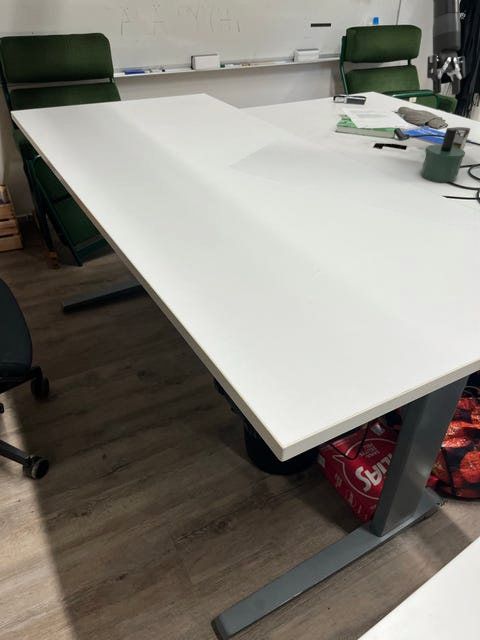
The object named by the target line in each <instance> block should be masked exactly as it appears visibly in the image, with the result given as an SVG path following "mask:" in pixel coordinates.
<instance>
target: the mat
mask: <svg viewBox="0 0 480 640" xmlns="http://www.w3.org/2000/svg"><path fill="white" fill-rule="evenodd" d="M384 147H385V148H390V149H398V150H403V151H407V148H408V145H405V144H400V143H389V142H388V143H386V142H385V143H384V142H375V143H374V144H373V146H372V148H373V149H379V150H383V148H384Z"/></svg>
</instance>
